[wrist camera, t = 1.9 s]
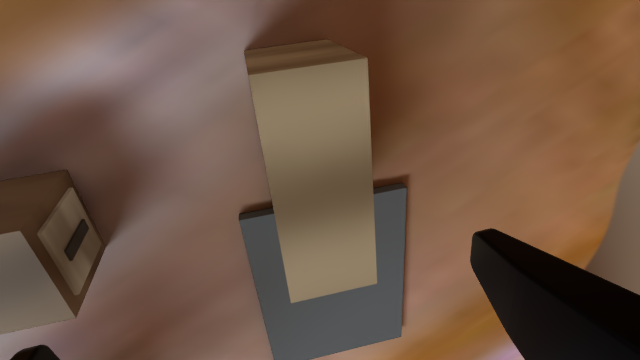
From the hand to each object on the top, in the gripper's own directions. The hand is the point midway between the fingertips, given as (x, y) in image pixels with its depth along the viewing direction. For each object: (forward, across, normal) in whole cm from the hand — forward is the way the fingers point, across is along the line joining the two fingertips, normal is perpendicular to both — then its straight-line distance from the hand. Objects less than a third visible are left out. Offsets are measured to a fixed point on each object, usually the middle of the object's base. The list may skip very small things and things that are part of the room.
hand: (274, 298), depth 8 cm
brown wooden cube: (+13, +12, +4) cm, 18 cm away
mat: (+12, -2, +14) cm, 19 cm away
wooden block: (+12, -2, +3) cm, 13 cm away
